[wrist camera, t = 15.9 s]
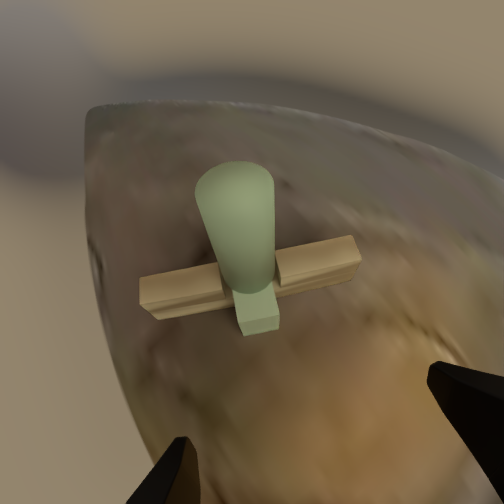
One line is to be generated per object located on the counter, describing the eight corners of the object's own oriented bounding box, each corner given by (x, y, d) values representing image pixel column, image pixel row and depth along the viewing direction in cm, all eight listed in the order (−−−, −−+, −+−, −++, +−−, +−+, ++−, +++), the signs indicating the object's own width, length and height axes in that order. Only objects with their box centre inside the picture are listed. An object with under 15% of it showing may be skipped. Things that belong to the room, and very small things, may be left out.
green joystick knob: (284, 327, 23) (295, 244, 12) (237, 337, 23) (201, 263, 12) (264, 248, 27) (256, 136, 16) (224, 256, 27) (191, 148, 16)
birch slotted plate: (350, 280, 25) (362, 259, 21) (157, 319, 24) (139, 304, 20) (342, 258, 26) (351, 234, 22) (156, 296, 25) (139, 277, 22)
